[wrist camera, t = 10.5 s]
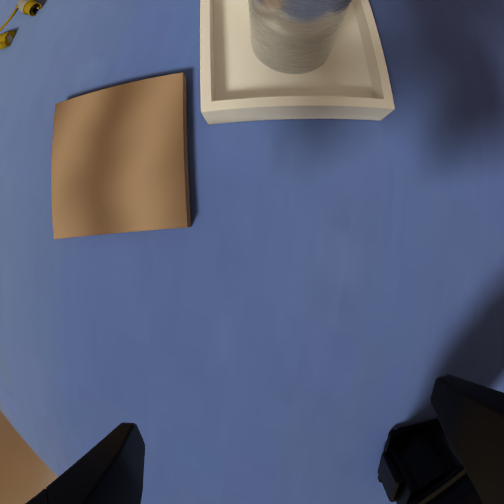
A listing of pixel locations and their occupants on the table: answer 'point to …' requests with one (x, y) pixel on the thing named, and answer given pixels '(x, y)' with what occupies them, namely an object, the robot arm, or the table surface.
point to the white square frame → (290, 85)
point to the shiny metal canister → (295, 32)
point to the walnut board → (121, 159)
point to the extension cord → (25, 6)
